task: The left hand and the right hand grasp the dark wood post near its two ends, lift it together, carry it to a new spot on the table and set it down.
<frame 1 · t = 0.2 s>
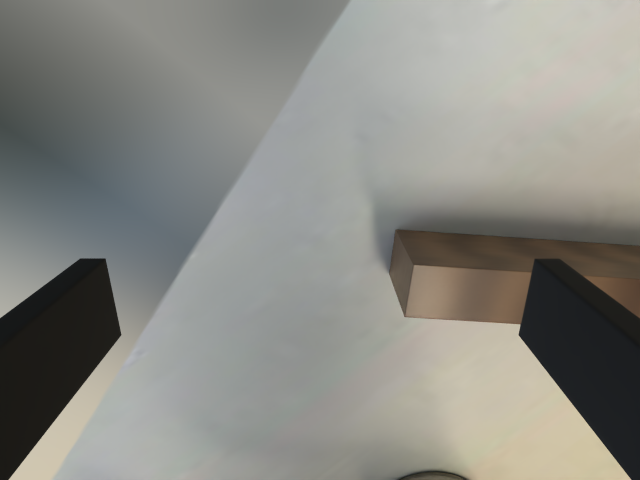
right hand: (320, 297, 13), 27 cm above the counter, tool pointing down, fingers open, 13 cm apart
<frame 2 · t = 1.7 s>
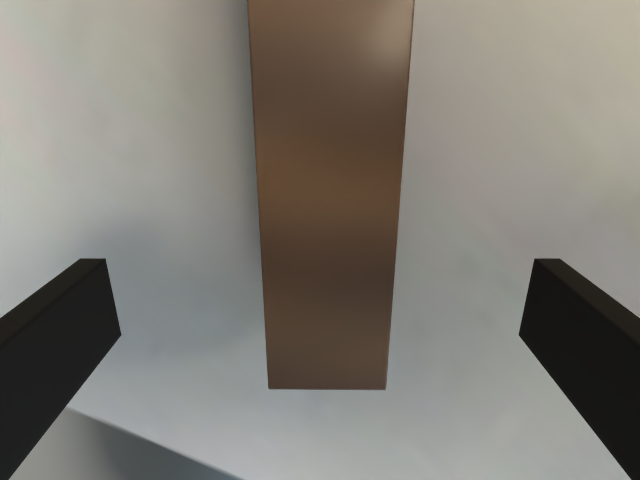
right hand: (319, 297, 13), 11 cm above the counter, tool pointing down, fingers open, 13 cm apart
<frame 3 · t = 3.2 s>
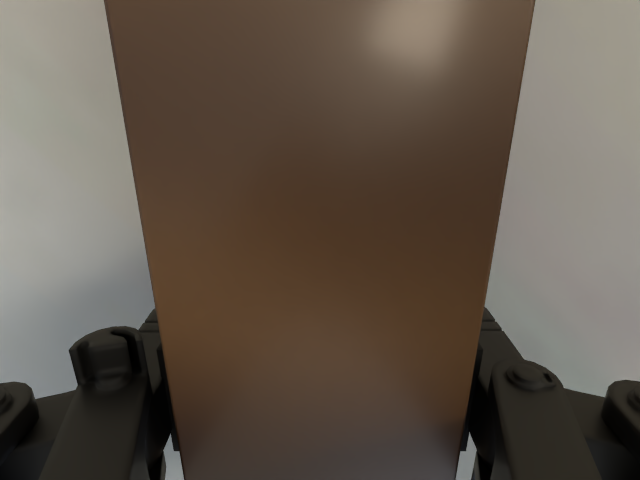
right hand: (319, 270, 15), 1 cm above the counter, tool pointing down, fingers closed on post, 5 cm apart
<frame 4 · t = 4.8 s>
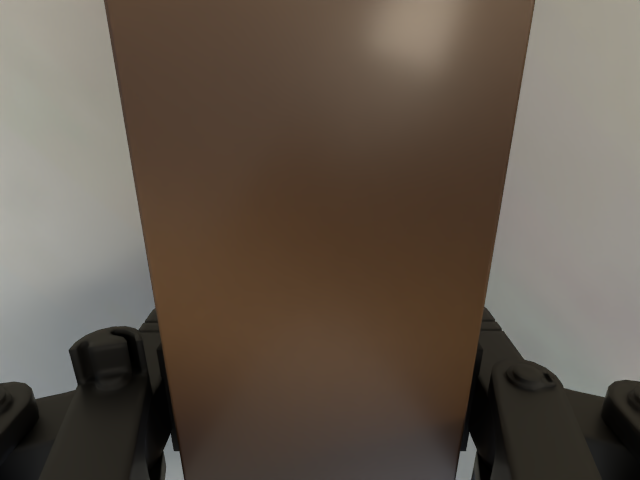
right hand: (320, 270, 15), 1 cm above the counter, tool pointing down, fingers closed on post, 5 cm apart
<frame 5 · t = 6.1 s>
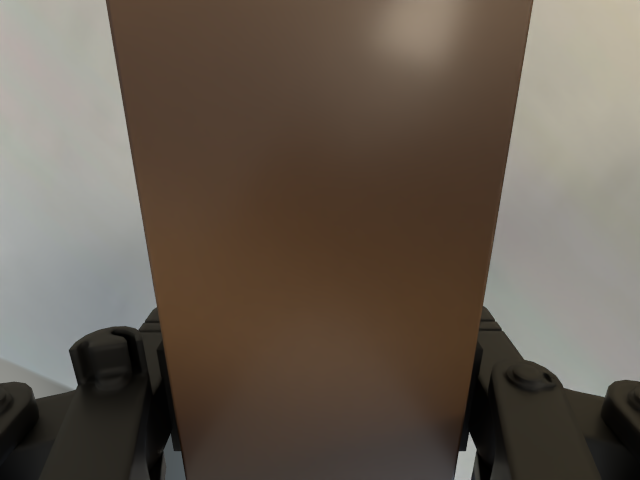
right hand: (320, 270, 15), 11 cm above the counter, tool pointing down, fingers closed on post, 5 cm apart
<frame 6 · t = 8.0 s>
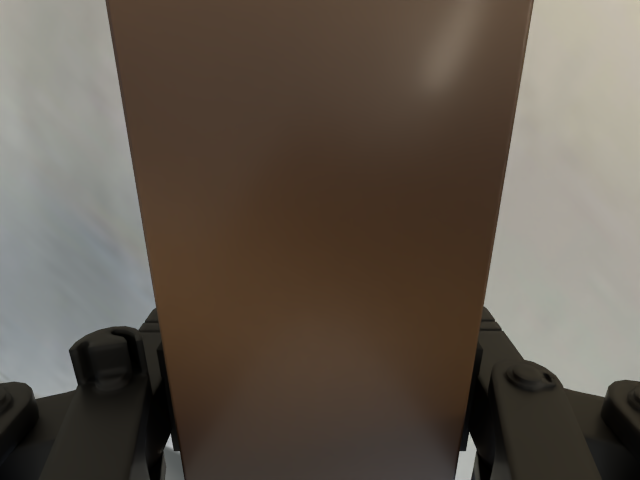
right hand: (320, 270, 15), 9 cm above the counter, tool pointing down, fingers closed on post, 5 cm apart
when the right hand's fingers open (2 cm above the counter, at t = 9.2 s): post drops 2 cm, on the counter.
when the left hand's fingers open (5 cm above the counter, at t = 9.4 s): post stays where it is, on the counter.
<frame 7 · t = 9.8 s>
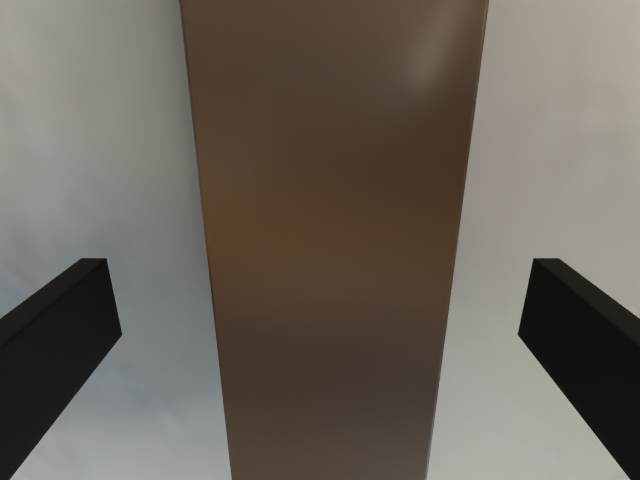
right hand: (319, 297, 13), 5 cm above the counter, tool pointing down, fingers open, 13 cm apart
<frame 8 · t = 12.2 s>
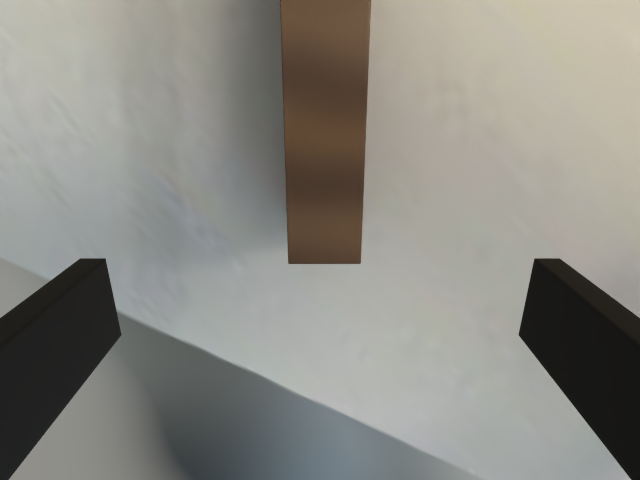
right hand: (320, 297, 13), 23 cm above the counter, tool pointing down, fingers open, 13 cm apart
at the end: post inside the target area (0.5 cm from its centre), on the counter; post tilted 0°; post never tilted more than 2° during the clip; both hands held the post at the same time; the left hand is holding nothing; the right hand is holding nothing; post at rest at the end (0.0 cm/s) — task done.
